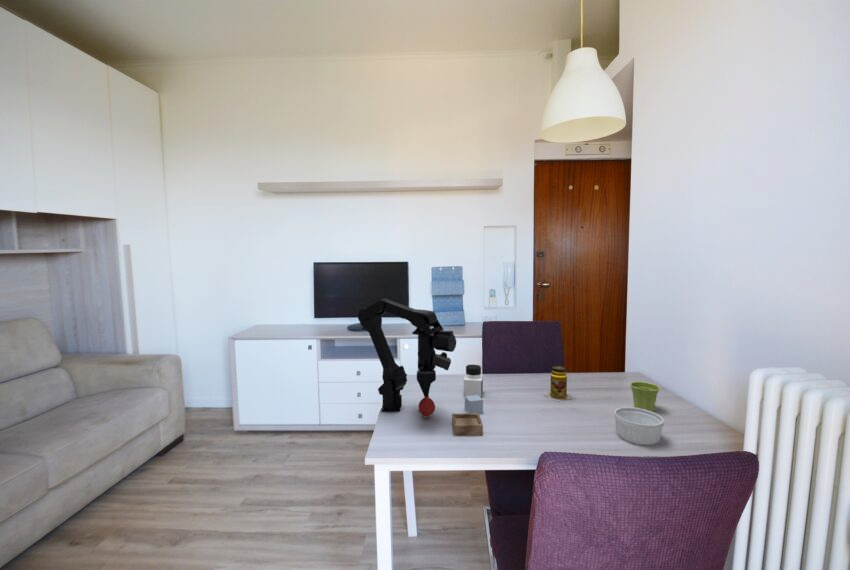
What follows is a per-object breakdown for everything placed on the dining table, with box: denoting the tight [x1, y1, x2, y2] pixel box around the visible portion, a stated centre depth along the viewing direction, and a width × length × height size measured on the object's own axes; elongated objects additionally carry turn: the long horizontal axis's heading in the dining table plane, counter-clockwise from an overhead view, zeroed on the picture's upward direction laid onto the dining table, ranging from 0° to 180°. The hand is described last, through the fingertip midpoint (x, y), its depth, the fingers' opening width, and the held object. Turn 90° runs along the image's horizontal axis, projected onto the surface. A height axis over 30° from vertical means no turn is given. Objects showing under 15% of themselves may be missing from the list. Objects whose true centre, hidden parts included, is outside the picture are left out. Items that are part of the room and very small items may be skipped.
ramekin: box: [614, 406, 665, 446], centre depth 115 cm, size 13×13×7 cm
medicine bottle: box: [463, 363, 484, 399], centre depth 152 cm, size 7×7×12 cm
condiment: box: [543, 365, 572, 402], centre depth 149 cm, size 7×8×12 cm
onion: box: [418, 394, 436, 419], centre depth 131 cm, size 6×6×8 cm
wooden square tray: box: [451, 412, 484, 437], centre depth 122 cm, size 9×9×4 cm
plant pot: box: [629, 381, 661, 412], centre depth 136 cm, size 9×9×9 cm
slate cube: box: [464, 395, 484, 415], centre depth 136 cm, size 5×5×5 cm
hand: (426, 392), depth 130 cm, fingers open, 9 cm apart
